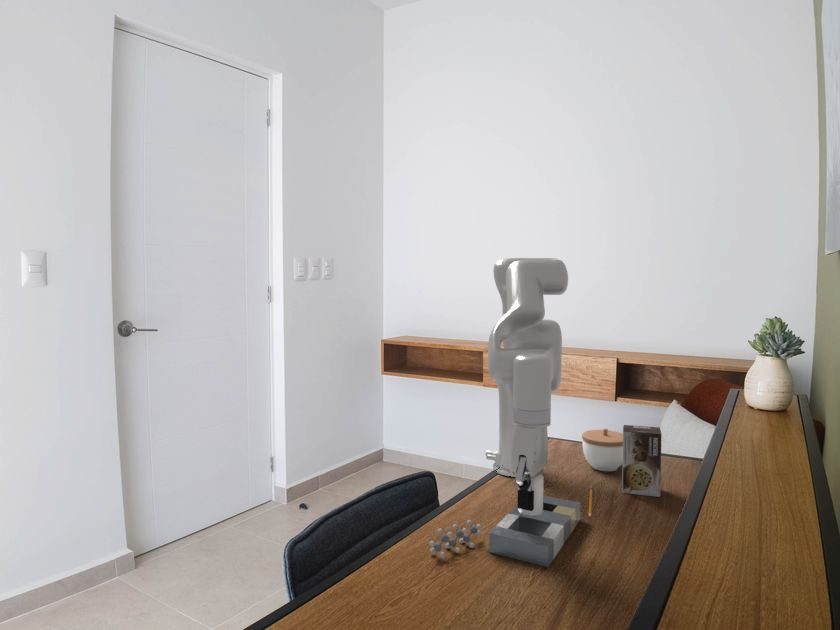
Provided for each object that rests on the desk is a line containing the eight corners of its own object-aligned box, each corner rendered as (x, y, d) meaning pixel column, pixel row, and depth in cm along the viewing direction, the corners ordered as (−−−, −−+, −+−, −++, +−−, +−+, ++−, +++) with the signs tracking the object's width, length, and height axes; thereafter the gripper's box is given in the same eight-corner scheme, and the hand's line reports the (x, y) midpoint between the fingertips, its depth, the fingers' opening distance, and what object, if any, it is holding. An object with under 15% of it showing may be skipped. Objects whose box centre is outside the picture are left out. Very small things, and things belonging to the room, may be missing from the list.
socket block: (489, 552, 116) (489, 532, 116) (528, 509, 137) (528, 492, 137) (548, 567, 110) (548, 546, 110) (580, 519, 131) (580, 502, 131)
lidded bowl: (584, 473, 161) (585, 434, 160) (578, 458, 174) (579, 422, 173) (632, 475, 159) (633, 436, 159) (622, 460, 172) (623, 424, 171)
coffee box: (659, 488, 150) (661, 427, 149) (660, 497, 144) (662, 433, 143) (621, 484, 153) (623, 423, 152) (621, 493, 147) (623, 430, 146)
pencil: (591, 489, 151) (589, 486, 151) (593, 487, 151) (591, 485, 151) (589, 519, 133) (587, 516, 133) (592, 518, 133) (590, 514, 133)
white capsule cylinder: (514, 512, 118) (514, 478, 117) (522, 503, 122) (523, 471, 122) (538, 517, 115) (539, 482, 115) (546, 508, 120) (546, 475, 119)
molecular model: (437, 564, 112) (437, 539, 111) (423, 556, 115) (423, 532, 114) (487, 543, 120) (487, 520, 120) (472, 536, 124) (472, 513, 123)
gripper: (527, 405, 127) (526, 487, 128) (498, 423, 112) (497, 515, 113) (561, 409, 123) (560, 494, 124) (536, 428, 108) (534, 523, 109)
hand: (530, 503), depth 119 cm, fingers closed on white capsule cylinder, 5 cm apart
